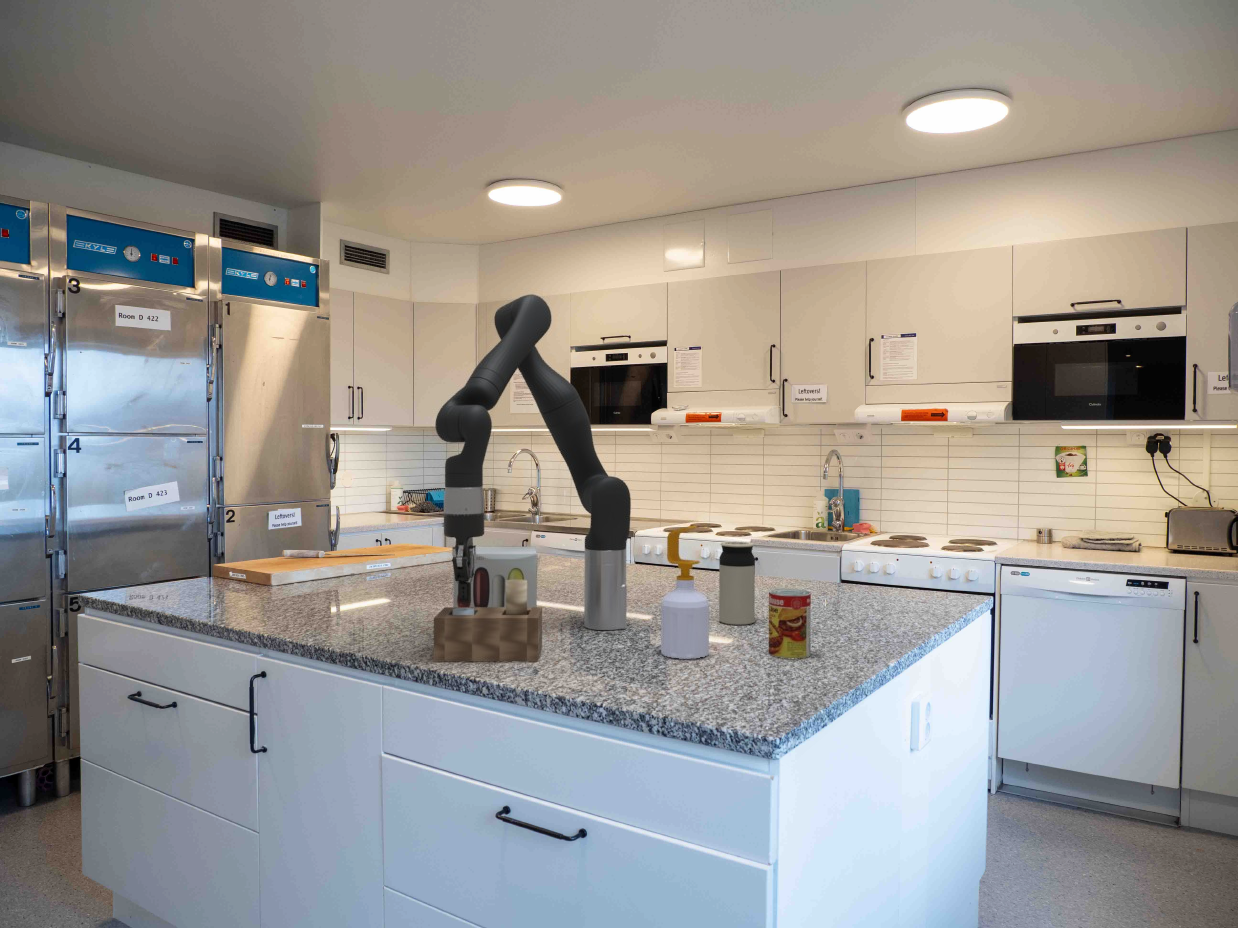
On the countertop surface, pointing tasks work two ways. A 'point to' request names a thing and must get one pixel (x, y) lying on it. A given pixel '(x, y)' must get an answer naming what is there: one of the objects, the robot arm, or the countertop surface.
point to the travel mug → (737, 583)
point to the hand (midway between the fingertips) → (464, 602)
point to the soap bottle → (684, 610)
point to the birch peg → (516, 597)
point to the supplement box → (500, 575)
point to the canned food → (789, 623)
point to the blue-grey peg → (463, 611)
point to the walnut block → (488, 635)
